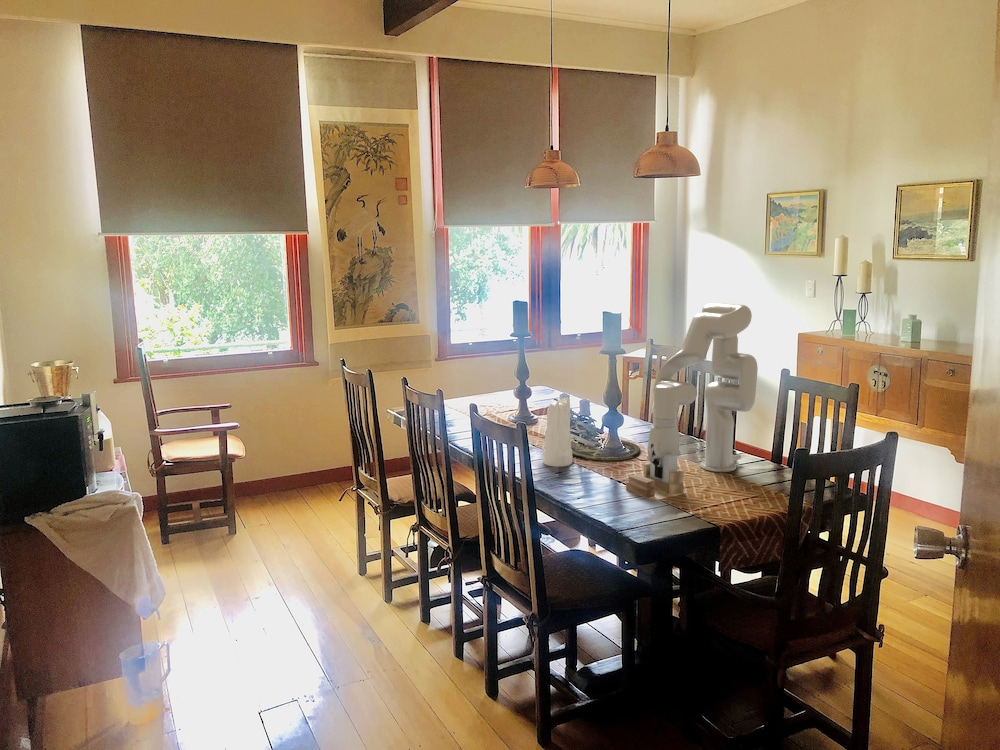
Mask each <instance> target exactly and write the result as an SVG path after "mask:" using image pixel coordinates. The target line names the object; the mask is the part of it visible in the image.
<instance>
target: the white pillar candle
mask: <svg viewBox="0 0 1000 750" xmlns="http://www.w3.org/2000/svg"><path fill="white" fill-rule="evenodd" d="M571 442H572V434H571V402H570V399H569V396H565V397H561V398H560V399H557V401H555V402H553V403H549V406H548V407H547V410H546V429H545V432H544V448H543V450H542V463H543V464H544V465H546V466H549V467H555V468H556V467H557V468H559V467H567V466H570V465H571V464H573V457H572V449H571Z"/></svg>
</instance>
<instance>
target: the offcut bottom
mask: <svg viewBox="0 0 1000 750" xmlns="http://www.w3.org/2000/svg"><path fill="white" fill-rule="evenodd" d="M625 483H626V484H625V486H626V491H627V492H630V493H632V492H633V494H635V495H637V494H638V495H637V496H640V497H642V498H644V497H645V499H647V498H649V497H654V496H655V489H654V488H653V489H649V490H645V489H642V488H639V487H636V486H633V485H631V484H629V481H626V482H625Z"/></svg>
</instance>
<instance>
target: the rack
mask: <svg viewBox="0 0 1000 750" xmlns="http://www.w3.org/2000/svg"><path fill="white" fill-rule="evenodd" d="M684 475H685V472H684V470H677V472H672V473H670V476H669V484H667V483H664V482H662V481H659V480H657V479H654V478H651V477H650V462H645V463H644V464H643V477H645V478H648V479H651V480H654V489H655V496H654V497H649V498H645V497H643V498H645V499H647V500H649V501H651V502H654V501H659V500H663V499H668V498H672V497H676V496H681V495H685V494H688V492H687V491H684V477H685V476H684ZM620 488H621V489H624V490H626V485H624V486H620ZM626 491H627V490H626ZM631 493H633V492H631ZM633 494H634V493H633ZM636 495H637V496H639V495H638V494H636Z"/></svg>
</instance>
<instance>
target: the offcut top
mask: <svg viewBox="0 0 1000 750" xmlns="http://www.w3.org/2000/svg"><path fill="white" fill-rule="evenodd" d="M628 482H629V484H631V485H633V486H636V487H639V488H642V489H645V490H649V489H653V488H654V480H651V479H648V478H645V477H644V476H642V475H639V474H634V475H629V476H628Z"/></svg>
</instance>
